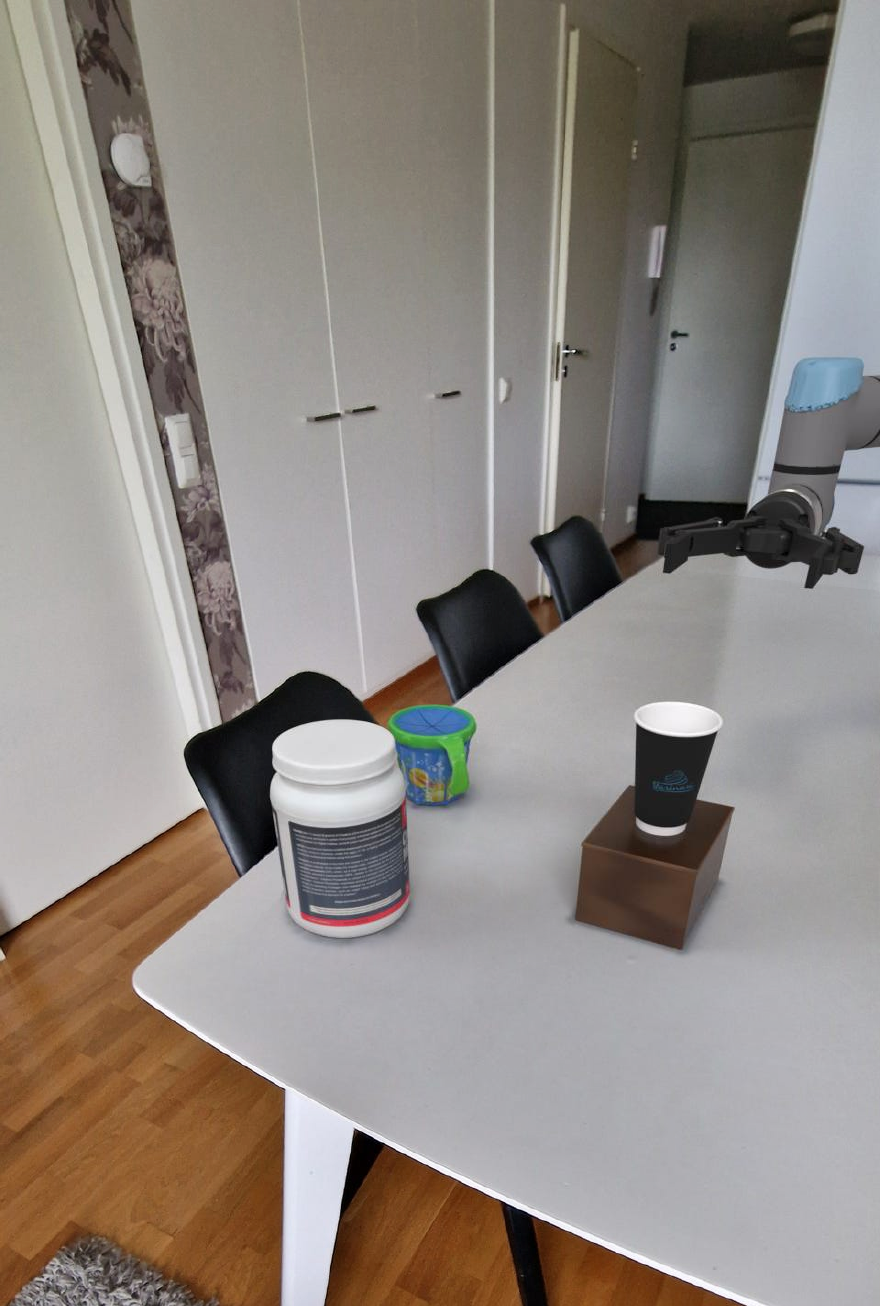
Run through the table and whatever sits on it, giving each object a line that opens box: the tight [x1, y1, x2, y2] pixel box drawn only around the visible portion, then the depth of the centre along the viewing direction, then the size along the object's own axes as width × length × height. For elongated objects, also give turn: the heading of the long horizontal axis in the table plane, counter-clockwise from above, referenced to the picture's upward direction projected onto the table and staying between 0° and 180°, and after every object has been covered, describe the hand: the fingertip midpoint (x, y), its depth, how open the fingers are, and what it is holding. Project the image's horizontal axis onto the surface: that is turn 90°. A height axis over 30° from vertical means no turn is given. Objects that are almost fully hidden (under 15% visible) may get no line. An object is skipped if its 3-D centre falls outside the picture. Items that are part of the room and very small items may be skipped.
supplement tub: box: [269, 719, 411, 939], centre depth 82 cm, size 13×13×18 cm
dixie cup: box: [633, 701, 724, 836], centre depth 80 cm, size 8×8×11 cm
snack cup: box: [387, 704, 477, 807], centre depth 106 cm, size 16×10×10 cm
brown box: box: [574, 784, 736, 951], centre depth 86 cm, size 11×14×9 cm
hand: (737, 565), depth 81 cm, fingers open, 13 cm apart
